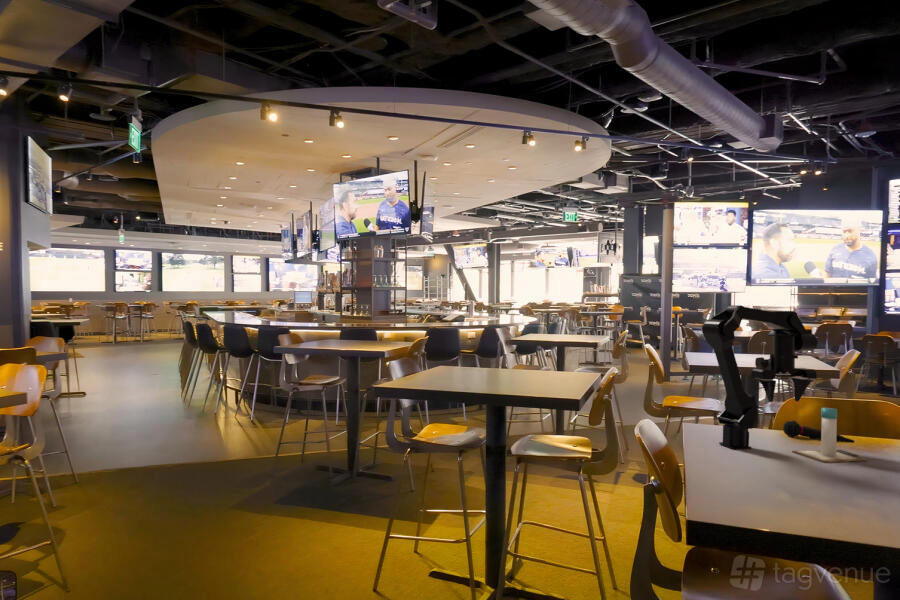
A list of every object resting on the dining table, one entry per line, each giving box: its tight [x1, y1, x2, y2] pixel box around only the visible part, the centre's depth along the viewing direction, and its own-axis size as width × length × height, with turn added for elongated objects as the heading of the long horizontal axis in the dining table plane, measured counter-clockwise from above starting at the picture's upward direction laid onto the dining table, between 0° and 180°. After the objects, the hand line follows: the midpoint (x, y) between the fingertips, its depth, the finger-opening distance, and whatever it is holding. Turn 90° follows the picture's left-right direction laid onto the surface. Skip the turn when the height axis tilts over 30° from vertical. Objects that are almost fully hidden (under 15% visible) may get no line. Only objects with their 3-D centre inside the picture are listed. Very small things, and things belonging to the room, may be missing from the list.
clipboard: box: [791, 449, 868, 464], centre depth 162 cm, size 14×11×1 cm
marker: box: [820, 407, 838, 456], centre depth 162 cm, size 4×4×13 cm
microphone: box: [782, 420, 855, 443], centre depth 185 cm, size 6×6×20 cm
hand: (783, 401), depth 176 cm, fingers open, 9 cm apart
